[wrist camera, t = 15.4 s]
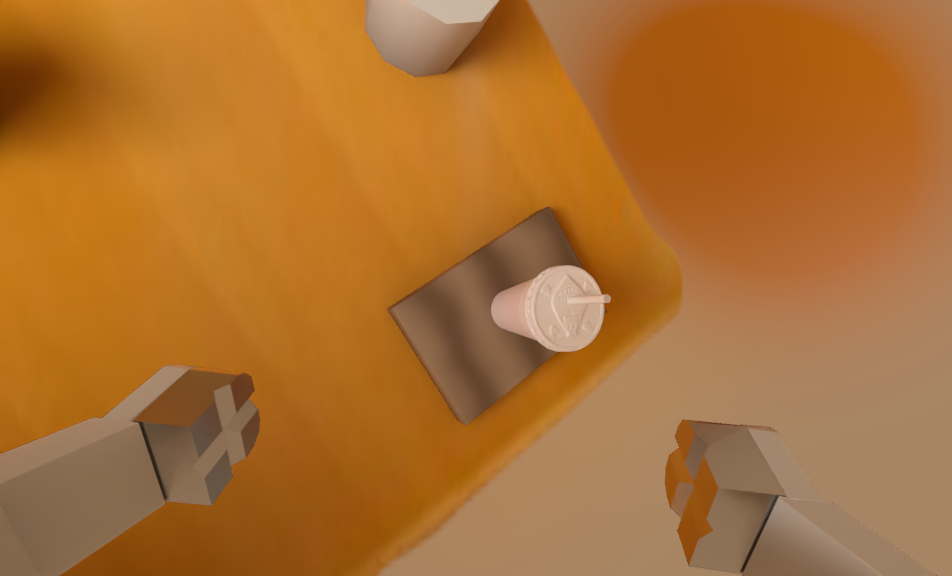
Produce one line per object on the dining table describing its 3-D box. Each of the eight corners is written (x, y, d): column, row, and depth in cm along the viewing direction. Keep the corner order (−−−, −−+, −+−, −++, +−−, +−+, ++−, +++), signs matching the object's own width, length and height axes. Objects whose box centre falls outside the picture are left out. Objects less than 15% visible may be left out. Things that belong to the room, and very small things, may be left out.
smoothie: (536, 272, 45) (642, 255, 32) (543, 340, 45) (651, 351, 32) (473, 277, 42) (560, 260, 30) (480, 349, 42) (570, 364, 29)
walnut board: (458, 420, 43) (466, 425, 41) (387, 309, 41) (392, 308, 39) (594, 312, 50) (607, 311, 48) (538, 210, 48) (549, 206, 46)
